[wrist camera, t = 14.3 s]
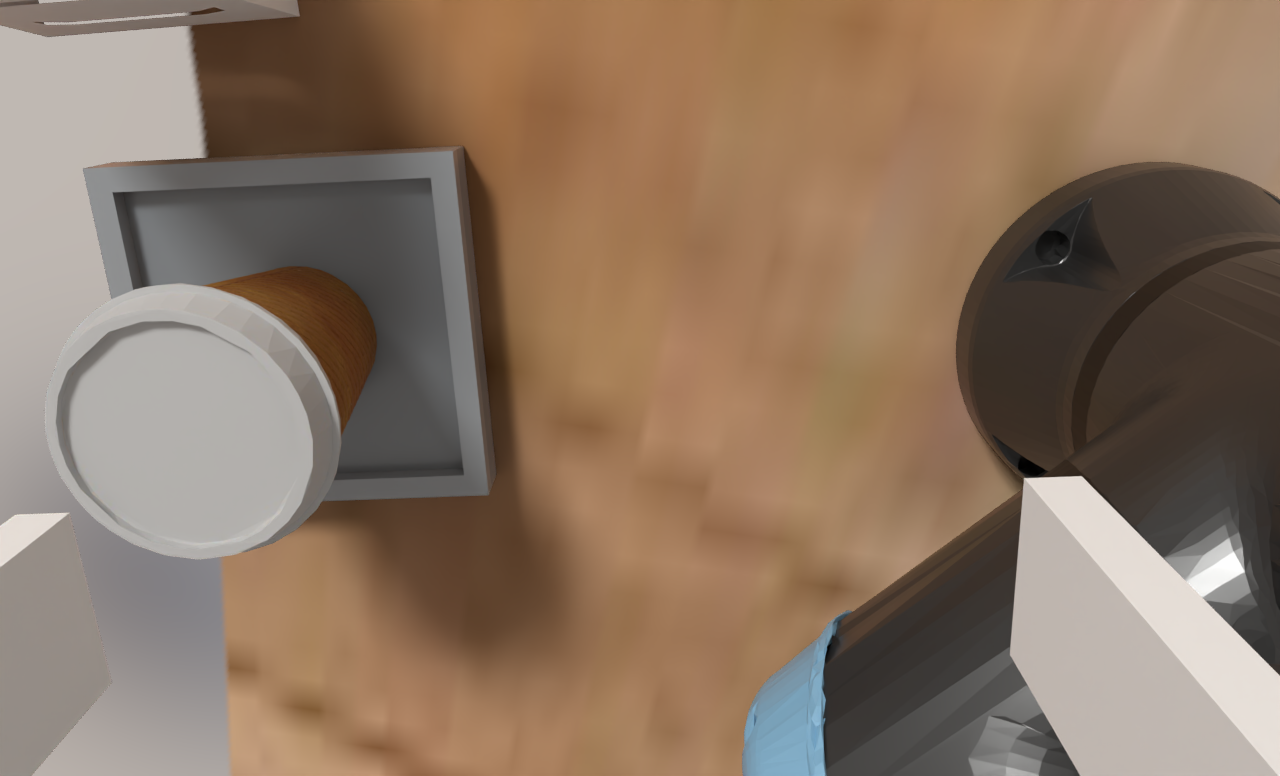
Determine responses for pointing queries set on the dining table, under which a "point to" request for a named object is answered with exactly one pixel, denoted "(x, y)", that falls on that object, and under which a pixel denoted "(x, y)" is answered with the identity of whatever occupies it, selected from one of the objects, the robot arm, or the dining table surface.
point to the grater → (133, 14)
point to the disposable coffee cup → (210, 408)
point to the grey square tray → (352, 252)
